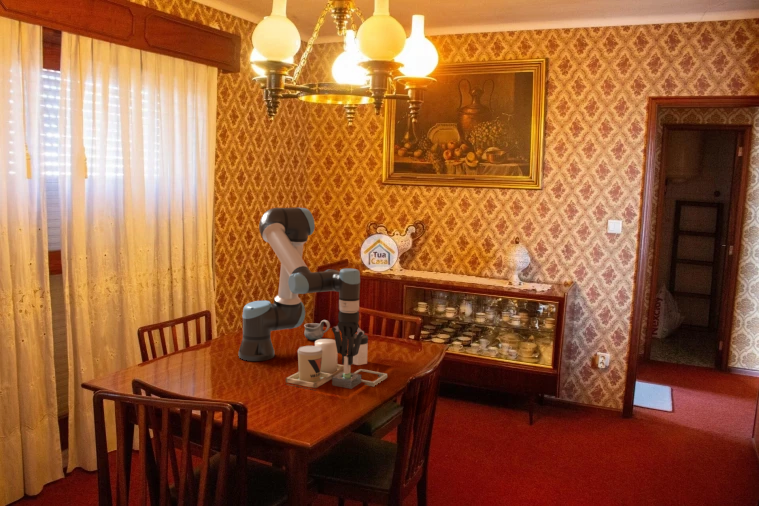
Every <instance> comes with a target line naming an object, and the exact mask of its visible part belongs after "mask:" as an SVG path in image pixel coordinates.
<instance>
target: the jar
mask: <svg viewBox="0 0 759 506" xmlns="http://www.w3.org/2000/svg"><path fill="white" fill-rule="evenodd" d="M356 337H357V333H355V337H354V345H355V341H356ZM368 341H369V336H368V335H367V334H364V335H363V336H362V340H361V344H360V348H359V351H358V354H357V355H355V356H353V364H352V365H356V366H361V365H367V364H368V348H369V347H368V346H369V345H368V344H369V343H368Z"/></svg>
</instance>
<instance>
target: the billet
mask: <svg viewBox="0 0 759 506" xmlns="http://www.w3.org/2000/svg"><path fill="white" fill-rule="evenodd" d="M314 346H317V347H320V348H322V351H323V352H322V361H321V372H324V373H329V374H332V373H333V372H335V371H337V364H338V354H339V353H338V352H337V347H336V342H335V339H332V338H320V339H318V340H314Z"/></svg>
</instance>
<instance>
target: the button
mask: <svg viewBox="0 0 759 506" xmlns="http://www.w3.org/2000/svg"><path fill="white" fill-rule="evenodd" d="M351 373H352V372H350V373H348V374H344V373H343V377H345V378H350V377H351Z"/></svg>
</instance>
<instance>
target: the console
mask: <svg viewBox="0 0 759 506" xmlns="http://www.w3.org/2000/svg"><path fill="white" fill-rule="evenodd" d="M343 373H344V371H342V372H341V373H339V374H337V375H335V376H334V377H332V379H331V385H332V386H334V387H340V388H345V389H350V390H352V389H353V388H355V387H356V386H358V385H359V384H361V383H362V382H361V380H362V374H359V373H357V374H354V372H350V373H351V377H350V378H345V377H343Z"/></svg>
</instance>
